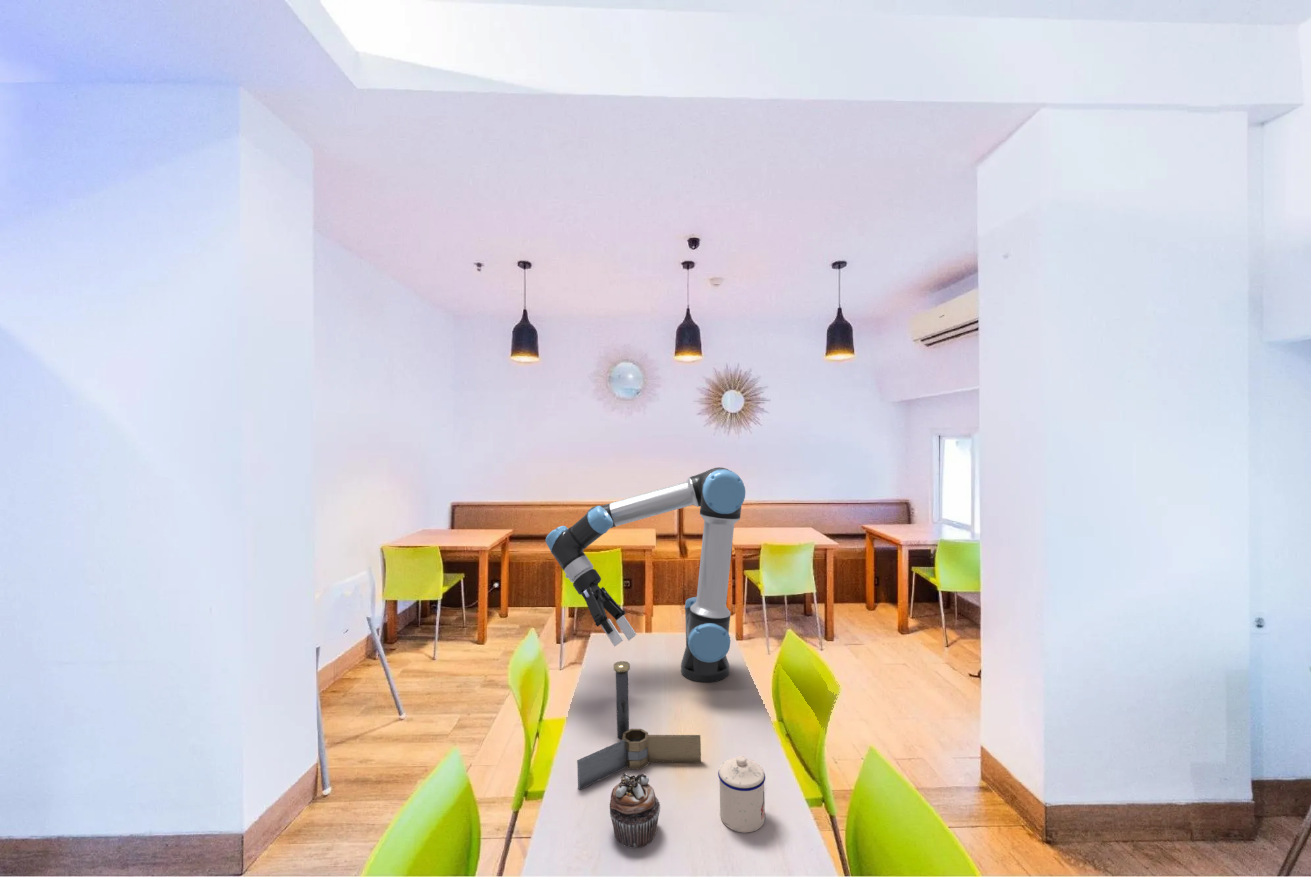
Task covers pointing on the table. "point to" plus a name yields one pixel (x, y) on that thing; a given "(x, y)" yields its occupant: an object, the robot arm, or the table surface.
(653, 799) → the cupcake
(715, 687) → the table surface
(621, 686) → the hinge pin
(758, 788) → the teacup with lid
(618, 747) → the hinge leaf
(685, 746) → the tan flat knuckled part
